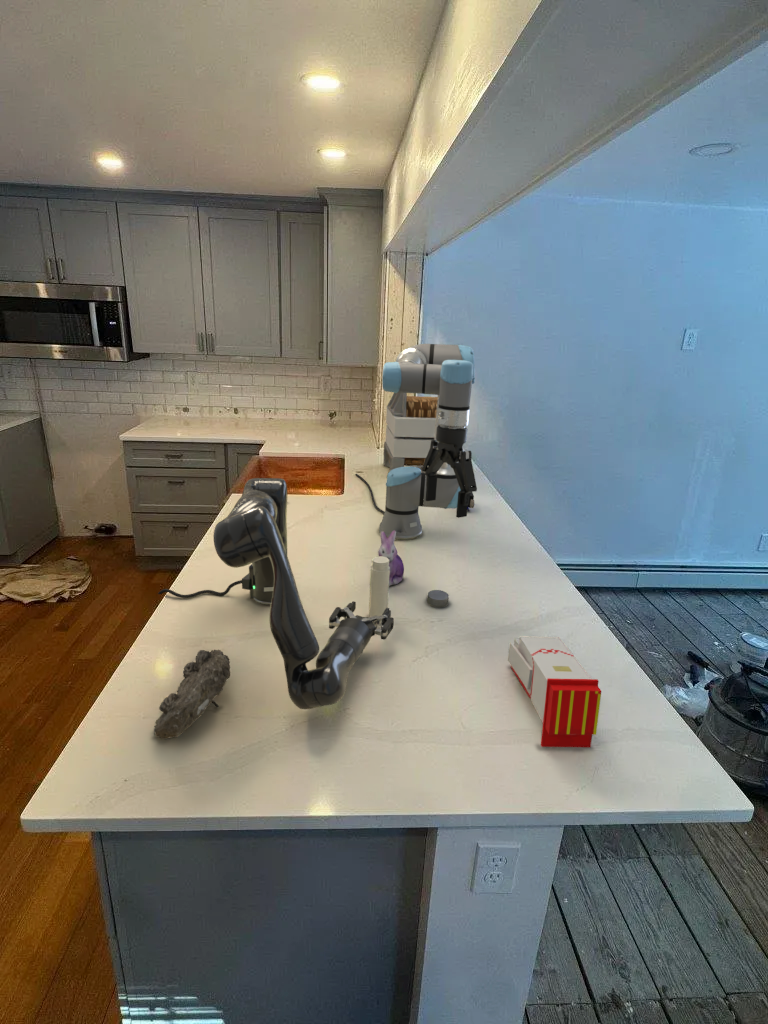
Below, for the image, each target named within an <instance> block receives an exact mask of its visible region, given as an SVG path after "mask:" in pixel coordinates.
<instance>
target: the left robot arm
mask: <svg viewBox="0 0 768 1024" xmlns="http://www.w3.org/2000/svg"><path fill="white" fill-rule="evenodd" d="M287 511H288V485H287V482H286V480H285V479H284V478H279V477H253V478H250V479H248V480H247V481H246V482H245V484H244V487H243V491H242V494H241V496H240V498H239V499H238V500H237V501H236V503H235V505H234V506H233V508H232V509H231V511H230V512H229V514H228V515H227V516H226V517H225V518H223V519H222V520H220V521H218V522H217V524H216V525H215V527H214V530H213V545H214V550H215V551H216V554H217V556H218V557H219V559H220V560H221V562H223V563H224V564H225V565H226V566H229V567H230V568H234V569H235V568H242V567H245V566H248V565H249V566H248V573H247V574H245V575H244V576H243V577H242V578H241V579H240V580H236V581H234V582H232V583H230V584H229V585H228V586H227V588H226V589H225V590H224V591H222V592H219V591H216V590H212V589H203V590H199V591H196V592H193V593H189V594H181V593H178V592H176V591H174V590H173V589H169V588H163V589H161V590H160V591H158V592H157V594H158V595H162V594H164V593H168V592H169V593H168V594H169V595H172V596H175V597H177V598H180V599H189V598H194V597H197V596H200V595H203V594H212V595H215V596H219V597H222V596H225V595H227V594H228V593H230V590H231V589H232V588H233V587H235V586H237V585H241V589H243V590H247V591H249V598H250V599H251V600H253V601H254V602H255V603H257V604H260V605H264V606H265V605H266V606H267V605H269V614H268V615H269V617H268V619H269V620H268V621H269V622H268V623H269V628H270V632H271V635H272V637H273V640H274V642H275V643H276V646H277V648H278V651H279V652H280V655H281V657H282V660H283V665H284V671H285V678H286V686H287V691H288V697H289V699H290V701H291V702H292V703H293V704H294V706H295V707H297V708H298V709H300V710H312V709H317V708H323V707H327V706H333V705H336V704H337V703H339V702H340V701H341V700H342V699H343V697H344V696H345V694H346V690H347V683H348V677H349V673H350V671H351V669H352V668H353V666H354V664H355V663H356V662H357V661H358V660H359V658H360V657H361V656H362V654H363V652H364V650H365V649H366V647H367V645H368V644H369V642H370V640H371V638H372V637H374V636H375V635H376V636H380V639H381V640H387V638H388V637H389V635H390V634H391V632H392V631H393V630H394V623H395V622H394V621H395V618H394V617H392V611H391V610H390V607H388V608H386V609H385V611H384V612H383V614H382V615H381V616H376V615H375V616H372V617H369V616H361V615H358V614H356V615H355V614H354V612H355V611H356V609H357V602H356V601H355V600H354V601H352V602H349V603H348V604H347V605H346V606H345V607H343V608H341V607H340V606H336V607H334V608H335V609H334V610H333V612H332V613H331V615H330V616H329V617H328V628H329V629H330V630H333V629H334V631H333V632H332V634H331V635H330V636H329V638H328V640H327V642H326V644H325V645H324V647H323V648H322V649H321V650H320V644H319V642H318V640H317V637H316V635H315V633H314V630H313V628H312V626H311V623H310V621H309V619H308V616H307V614H306V611H305V609H304V606H303V603H302V600H301V597H300V593H299V590H298V586H297V584H296V580H295V579H296V578H295V576H294V573H293V568H292V566H291V563H290V559H289V557H288V527H287V526H288V525H287V524H288V523H287V519H288V518H287V515H288V512H287ZM341 618H343V619H341ZM340 619H341V620H340ZM381 620H382V623H380V621H381ZM373 621H374V622H373ZM335 628H336V629H335ZM316 657H317V658H316ZM315 658H316V660H315V668H313V669H308V667H307V664H308V663H309V662H311V661H313V660H314V659H315Z"/></svg>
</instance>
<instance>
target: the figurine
mask: <svg viewBox="0 0 768 1024" xmlns="http://www.w3.org/2000/svg"><path fill="white" fill-rule="evenodd" d="M395 537H396V531H395V530H394V531H392V533H391V534H390V536H389V537H388V538H387V536H386V535H385V533H384V532H383V531H382V532H381V534H380V545H379V548H378V550H377V553H378V554H377V556H384V557H387V558H388V559H389V567H390V575H389V587H390V586H393V585H398V584H399V583H401V582H402V581H403V577H404V572H405V565H404V562H403V559H402V557H401V556H400V555H399V554H398V549H397V546H396V544H395V541H396V540H395Z"/></svg>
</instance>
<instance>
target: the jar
mask: <svg viewBox="0 0 768 1024" xmlns="http://www.w3.org/2000/svg"><path fill="white" fill-rule="evenodd" d="M369 574H370V577H369V599H368V600H369V602H368V617H372V616H375V615H376V616H381V615H382V614H383V612H384V611H385V609H386V608H389V595H390V594H389V593H390V586H389V575H390V567H389V559H388V558H387V557H384V556H379V555H377V556H374V557H373V558H372V560H371V566H370V573H369ZM373 623H374V621H373ZM380 623H382V620H381V621H380Z"/></svg>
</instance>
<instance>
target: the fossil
mask: <svg viewBox="0 0 768 1024" xmlns="http://www.w3.org/2000/svg"><path fill="white" fill-rule="evenodd" d="M194 659H195V661H190V662H189V661H188V662H187V663H186V664H185V665H184V667H183V672H182V676H183V679H182V680H181V682H180V683H179V686H178V687H177V690H176V692H171V693H170V694H168V696H167V697H165V698H163V700H162V701H161V703H160V704H159V706H158V710H159V711H160V712H161V714H160V716H159V718H158V719H156V721H154V722H155V723H154V724H155V725H154V726H153V727H154V729H153V730H154V731H153V732H154V733H155V734H154V735H155V736H156V737H159V738H161V740H166V739H170V738H174V737H175V738H178V737H180V736H181V735H182V734H183V733H184V732H185V731H186V730H187V729H189V727H191V726H192V724H193V723H195V721H197V720H198V719H199V718H200V717H201V716H202V715H203V714H204V713H205V711H206V708H208V707H209V706H210V705H211V704H212V705H213V706H215V708H219V707H220V705H219V704H218V703H217V702H216V701H215V700H214V699H215V697H217V696H220V694H221V692H222V691H223V690H224V687H225V685H226V683H227V681H228V680H229V679H230V678H231V664H230V663H231V659H230V657H229V656H228V655H227V654H225V653H224V652H223V651H222V650H221V649H212V650H211V651H209V650H204V649H200V650H198V652H197V654H196V656H195V658H194Z"/></svg>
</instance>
